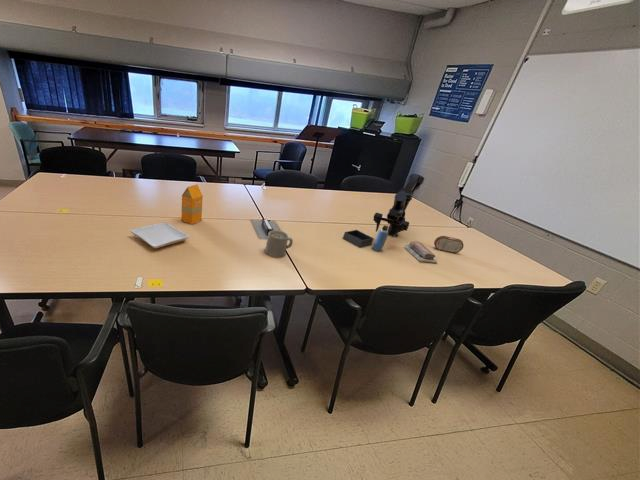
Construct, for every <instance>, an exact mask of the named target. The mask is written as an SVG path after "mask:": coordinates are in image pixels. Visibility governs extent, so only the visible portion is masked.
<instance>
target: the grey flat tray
mask: <svg viewBox="0 0 640 480" xmlns="http://www.w3.org/2000/svg"><path fill="white" fill-rule="evenodd" d="M251 222H252V225H253V227H254V229H255V231H256V233H257V235H258V237H259V239H267V238H268V233H269V232H270V231H272V230H278V231H281V230H280V228H279V227H278V225H277V223H276V222H275V221H269V220H268V219H262V220H251Z"/></svg>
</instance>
